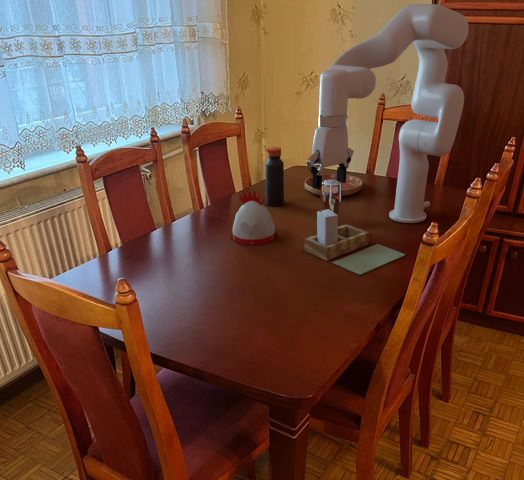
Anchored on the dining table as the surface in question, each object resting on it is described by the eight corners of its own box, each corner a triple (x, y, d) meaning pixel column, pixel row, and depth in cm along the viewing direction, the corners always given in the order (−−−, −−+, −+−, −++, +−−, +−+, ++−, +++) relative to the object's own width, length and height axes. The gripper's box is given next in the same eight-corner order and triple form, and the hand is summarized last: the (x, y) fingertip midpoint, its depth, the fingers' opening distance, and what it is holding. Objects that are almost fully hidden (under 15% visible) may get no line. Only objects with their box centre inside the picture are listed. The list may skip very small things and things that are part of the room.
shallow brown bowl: (300, 183, 224) (300, 174, 222) (354, 180, 226) (354, 171, 224) (310, 201, 205) (310, 191, 203) (369, 197, 207) (369, 188, 205)
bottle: (287, 202, 205) (287, 147, 194) (278, 207, 200) (277, 151, 189) (271, 199, 208) (271, 145, 197) (262, 204, 203) (261, 149, 192)
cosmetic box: (337, 253, 164) (339, 215, 157) (324, 256, 163) (325, 217, 156) (328, 246, 169) (330, 208, 162) (315, 248, 168) (316, 210, 161)
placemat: (377, 244, 169) (377, 243, 169) (405, 255, 162) (406, 254, 162) (332, 263, 159) (332, 262, 159) (360, 275, 152) (360, 274, 151)
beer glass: (339, 231, 179) (341, 185, 171) (318, 230, 181) (319, 185, 172) (340, 223, 185) (343, 179, 177) (320, 222, 186) (321, 178, 178)
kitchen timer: (238, 227, 185) (236, 183, 176) (278, 229, 182) (277, 184, 174) (228, 243, 173) (225, 197, 165) (270, 245, 171) (269, 198, 162)
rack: (345, 235, 176) (346, 224, 174) (368, 244, 170) (369, 232, 167) (304, 251, 167) (304, 238, 164) (326, 260, 160) (327, 248, 158)
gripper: (344, 115, 152) (340, 177, 162) (299, 123, 143) (297, 188, 152) (364, 118, 147) (359, 182, 157) (319, 127, 138) (316, 194, 148)
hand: (329, 185), depth 155 cm, fingers open, 9 cm apart
